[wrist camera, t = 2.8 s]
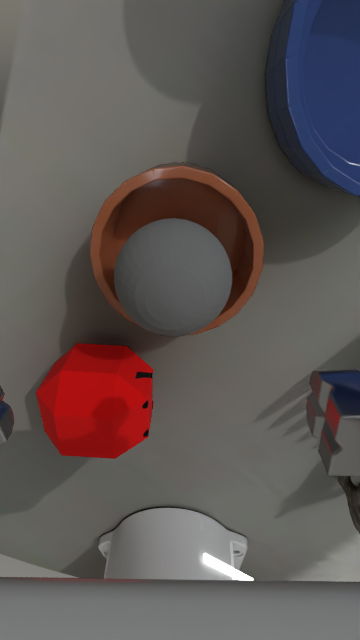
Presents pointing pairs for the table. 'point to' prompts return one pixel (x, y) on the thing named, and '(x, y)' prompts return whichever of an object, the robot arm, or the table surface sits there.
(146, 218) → the terracotta dish
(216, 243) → the light bulb
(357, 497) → the dog figurine
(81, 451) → the ball
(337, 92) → the blue bowl
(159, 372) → the table surface
